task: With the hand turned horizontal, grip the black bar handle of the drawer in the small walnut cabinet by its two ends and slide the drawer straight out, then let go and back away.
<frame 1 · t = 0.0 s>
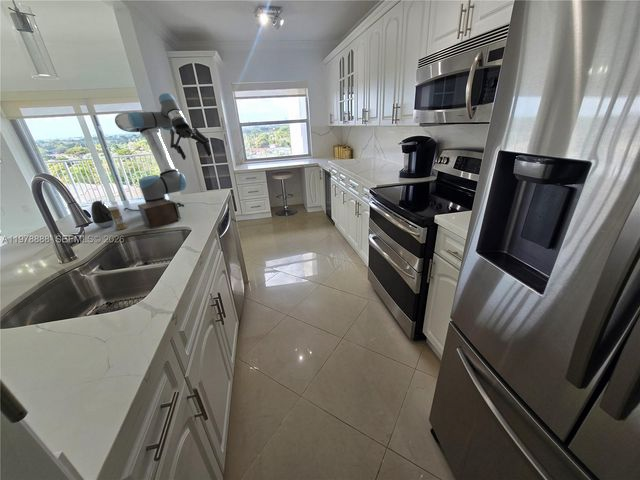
hand: (197, 156, 136), 36 cm above the worktop, tool tilted 35°, fingers open, 13 cm apart
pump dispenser: (107, 226, 152), on the worktop
drawer: (167, 210, 153), point 6 cm above the worktop, slide at 1.0 cm
cabinet: (161, 222, 152), on the worktop
sprinkles bottle: (121, 228, 146), on the worktop
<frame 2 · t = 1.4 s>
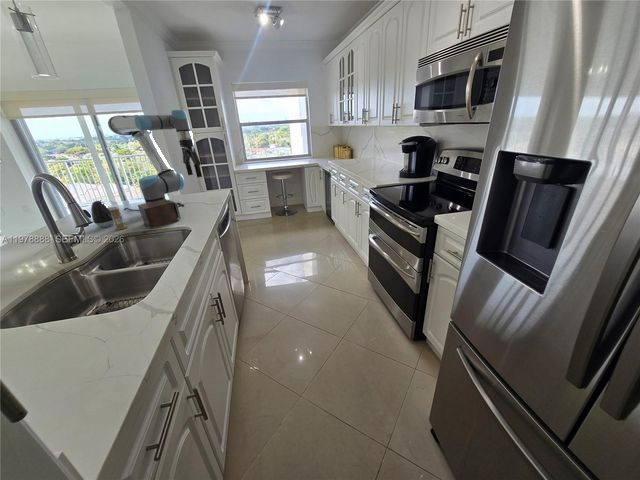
hand: (195, 176, 159), 23 cm above the worktop, tool pointing down, fingers open, 13 cm apart
nothing on the worktop moved.
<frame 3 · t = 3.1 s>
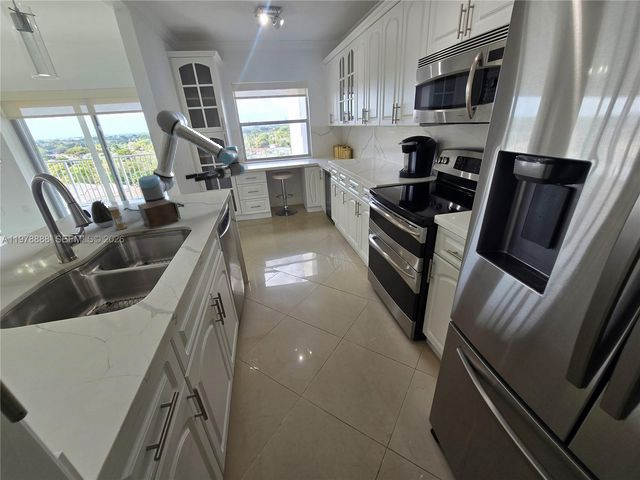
hand: (190, 178, 157), 22 cm above the worktop, tool horizontal, fingers open, 13 cm apart
nothing on the worktop moved.
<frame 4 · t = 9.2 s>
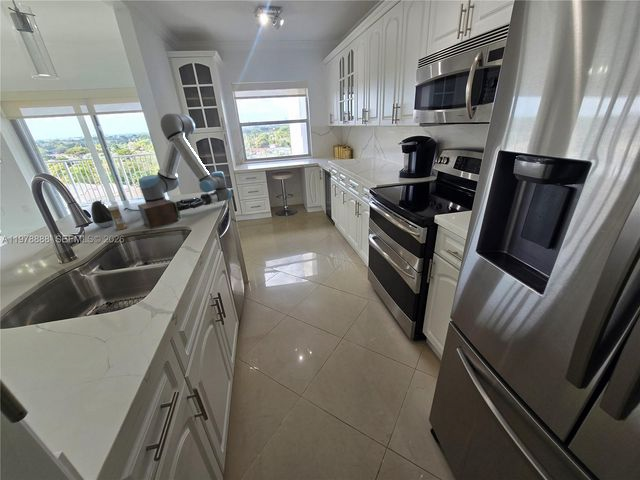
hand: (174, 207, 155), 7 cm above the worktop, tool horizontal, fingers closed on drawer, 11 cm apart
drawer: (167, 210, 153), point 6 cm above the worktop, slide at 1.0 cm, touching gripper
everything else where it was.
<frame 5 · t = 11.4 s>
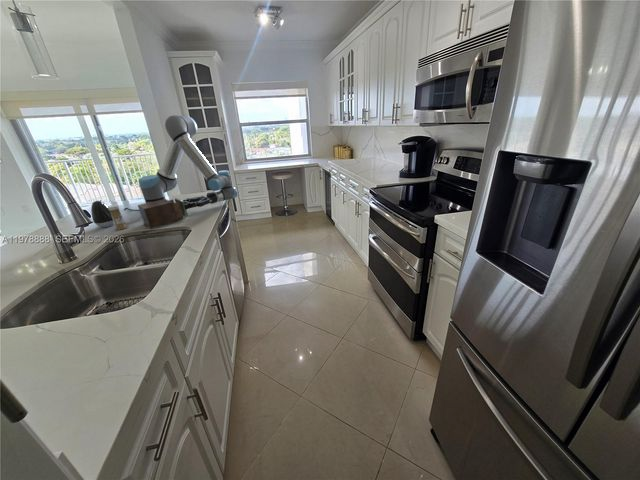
hand: (181, 205, 157), 7 cm above the worktop, tool horizontal, fingers closed on drawer, 11 cm apart
drawer: (174, 209, 155), point 6 cm above the worktop, slide at 5.1 cm, touching gripper
everything else where it was.
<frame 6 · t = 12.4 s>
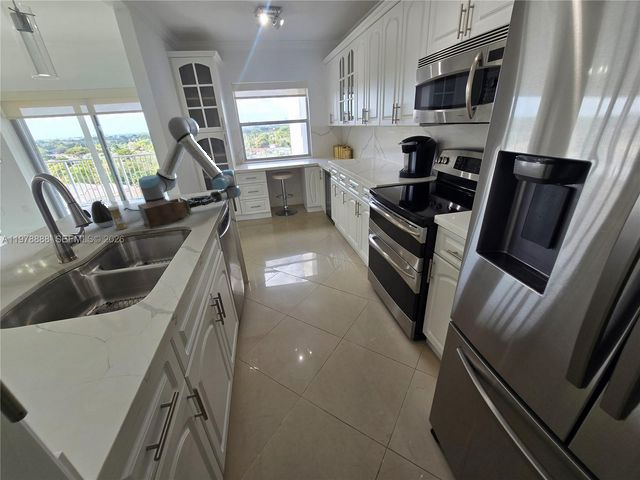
hand: (185, 204, 159), 7 cm above the worktop, tool horizontal, fingers closed on drawer, 11 cm apart
drawer: (179, 207, 157), point 6 cm above the worktop, slide at 7.8 cm, touching gripper
everything else where it was.
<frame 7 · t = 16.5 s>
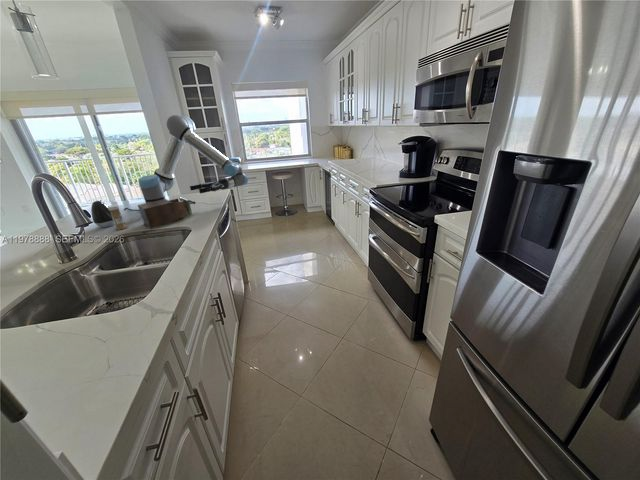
hand: (194, 189, 161), 14 cm above the worktop, tool horizontal, fingers open, 13 cm apart
drawer: (179, 207, 157), point 6 cm above the worktop, slide at 7.9 cm
everything else where it was.
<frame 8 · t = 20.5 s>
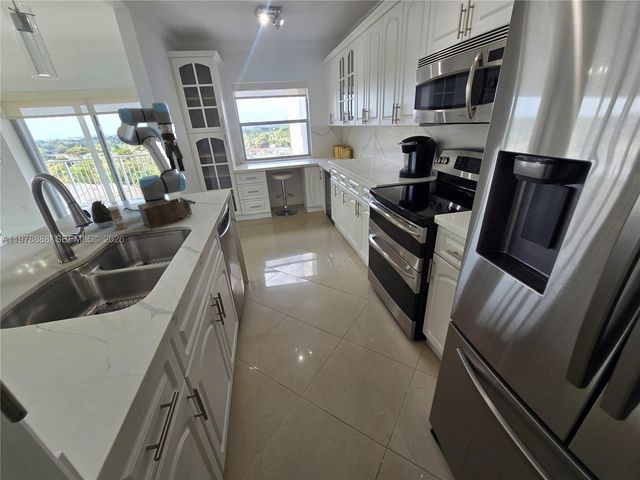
hand: (178, 170, 157), 27 cm above the worktop, tool pointing down, fingers open, 13 cm apart
nothing on the worktop moved.
at the end: drawer slide at 7.9 cm; drawer pulled out 7.9 cm at the most during the clip, back to 7.9 cm at the end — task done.
